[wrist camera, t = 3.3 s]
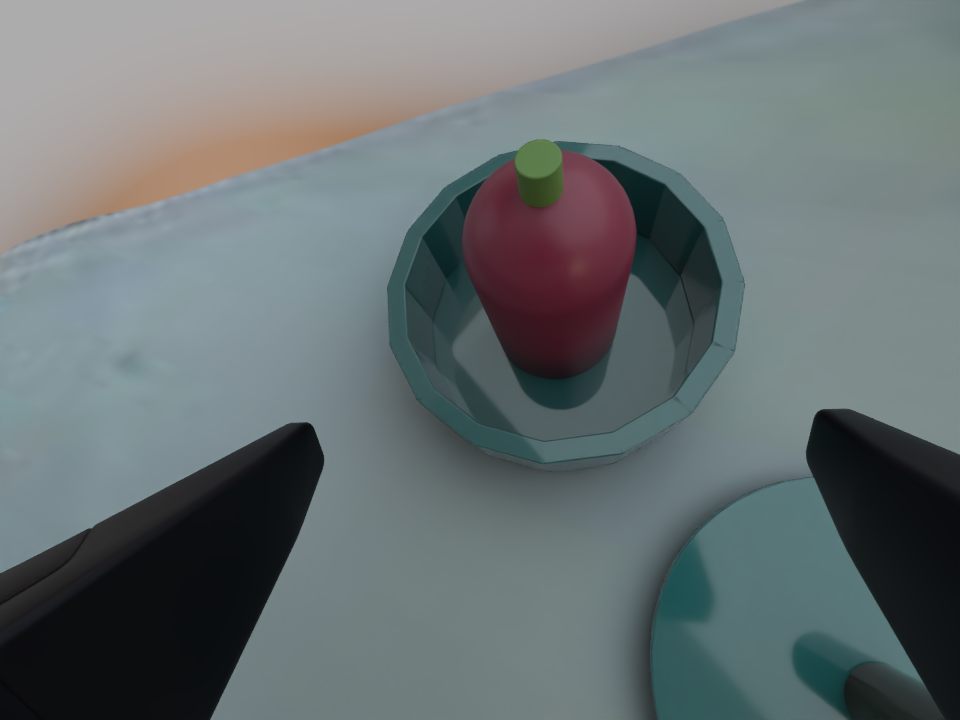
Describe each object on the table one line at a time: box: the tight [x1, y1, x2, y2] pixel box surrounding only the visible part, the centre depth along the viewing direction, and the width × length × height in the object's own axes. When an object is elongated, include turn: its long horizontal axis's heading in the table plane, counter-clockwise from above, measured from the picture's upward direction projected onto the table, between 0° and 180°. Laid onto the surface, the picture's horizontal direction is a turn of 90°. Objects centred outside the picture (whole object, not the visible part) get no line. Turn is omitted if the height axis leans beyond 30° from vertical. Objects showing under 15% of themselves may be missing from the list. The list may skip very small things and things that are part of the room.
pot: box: [387, 141, 745, 472], centre depth 20 cm, size 14×14×5 cm
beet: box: [462, 139, 637, 379], centre depth 16 cm, size 6×6×11 cm
